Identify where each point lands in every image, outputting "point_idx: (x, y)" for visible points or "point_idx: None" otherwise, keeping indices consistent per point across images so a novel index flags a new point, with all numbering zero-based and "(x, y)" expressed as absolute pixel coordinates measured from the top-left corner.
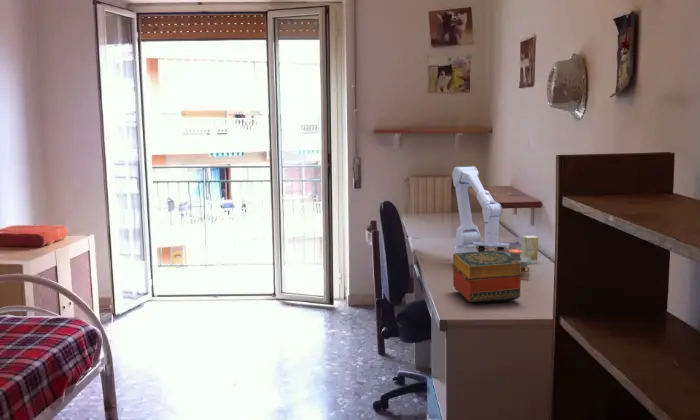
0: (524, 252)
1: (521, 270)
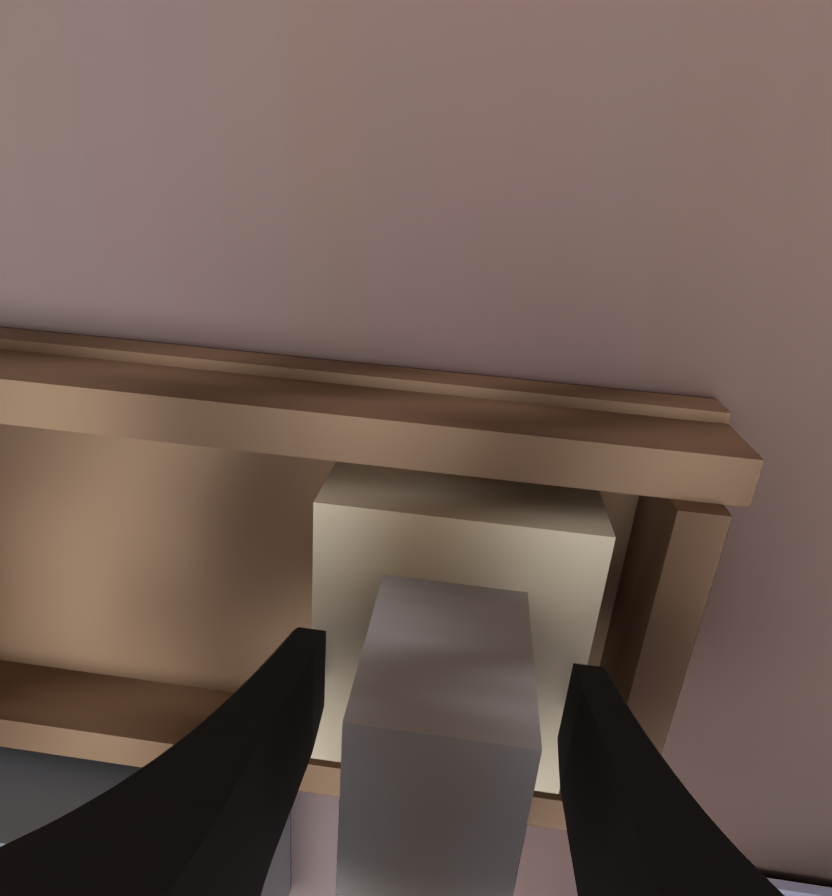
0: None
1: (2, 676)
